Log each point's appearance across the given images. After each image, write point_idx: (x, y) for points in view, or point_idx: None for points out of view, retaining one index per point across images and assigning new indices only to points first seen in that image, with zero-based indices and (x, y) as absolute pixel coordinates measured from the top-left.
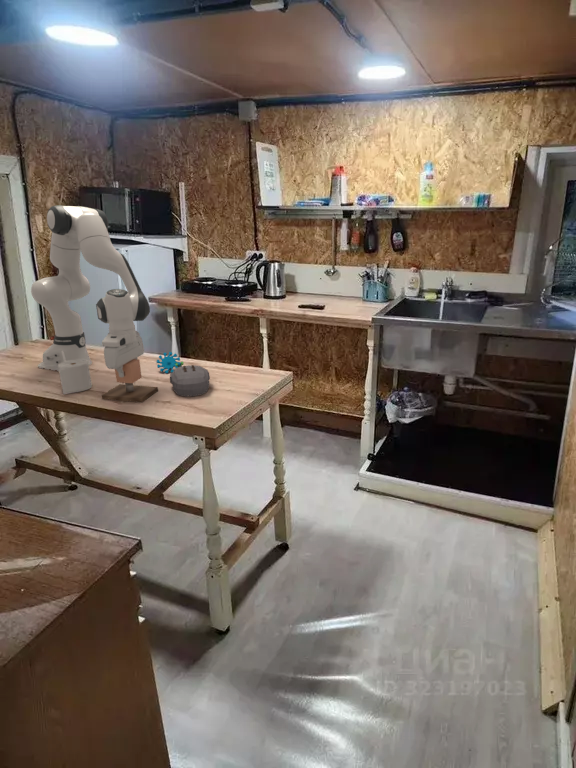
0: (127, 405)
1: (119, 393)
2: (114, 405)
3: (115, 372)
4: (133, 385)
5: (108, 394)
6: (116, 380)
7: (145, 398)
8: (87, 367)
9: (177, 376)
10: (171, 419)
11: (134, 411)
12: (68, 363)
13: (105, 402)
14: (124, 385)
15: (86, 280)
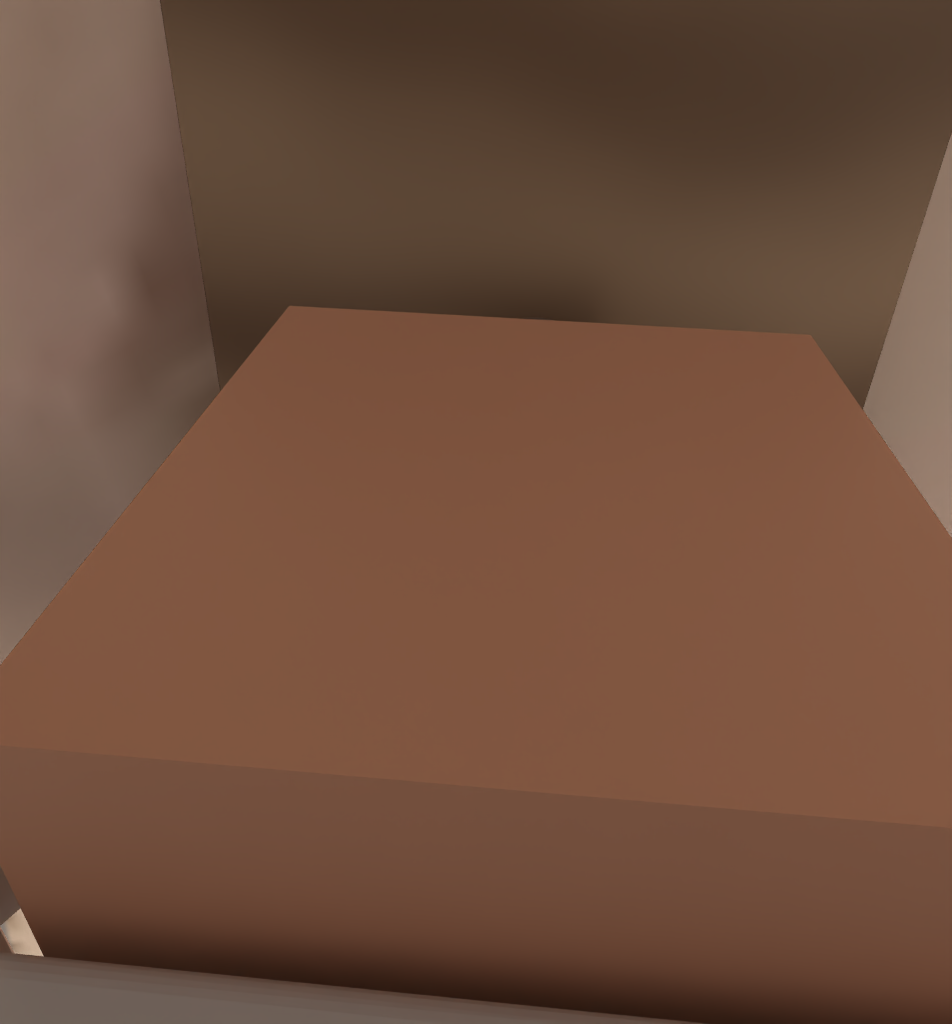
0: (118, 506)
1: (359, 248)
2: (29, 321)
3: (176, 457)
4: (873, 308)
5: (234, 13)
6: (271, 328)
7: None
8: None
9: None
10: (29, 946)
11: (4, 654)
12: None
13: (60, 64)
14: (897, 79)
15: None
